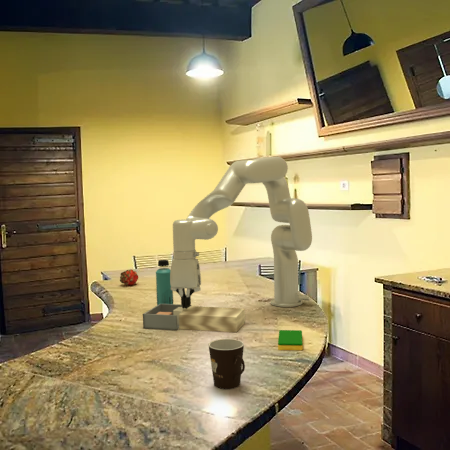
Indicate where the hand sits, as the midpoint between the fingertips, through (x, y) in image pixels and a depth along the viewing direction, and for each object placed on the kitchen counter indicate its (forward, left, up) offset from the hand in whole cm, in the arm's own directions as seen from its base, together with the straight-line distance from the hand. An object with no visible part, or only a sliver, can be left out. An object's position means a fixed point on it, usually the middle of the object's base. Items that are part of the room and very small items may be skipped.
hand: (186, 307), depth 180 cm
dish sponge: (-38, +13, -7) cm, 41 cm away
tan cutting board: (-10, 0, -6) cm, 11 cm away
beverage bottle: (+14, -16, -6) cm, 22 cm away
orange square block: (+8, +1, -3) cm, 9 cm away
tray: (+7, 0, -6) cm, 9 cm away
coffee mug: (-29, +50, -6) cm, 58 cm away
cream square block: (+1, 0, -3) cm, 3 cm away
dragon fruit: (+51, -61, -6) cm, 80 cm away
